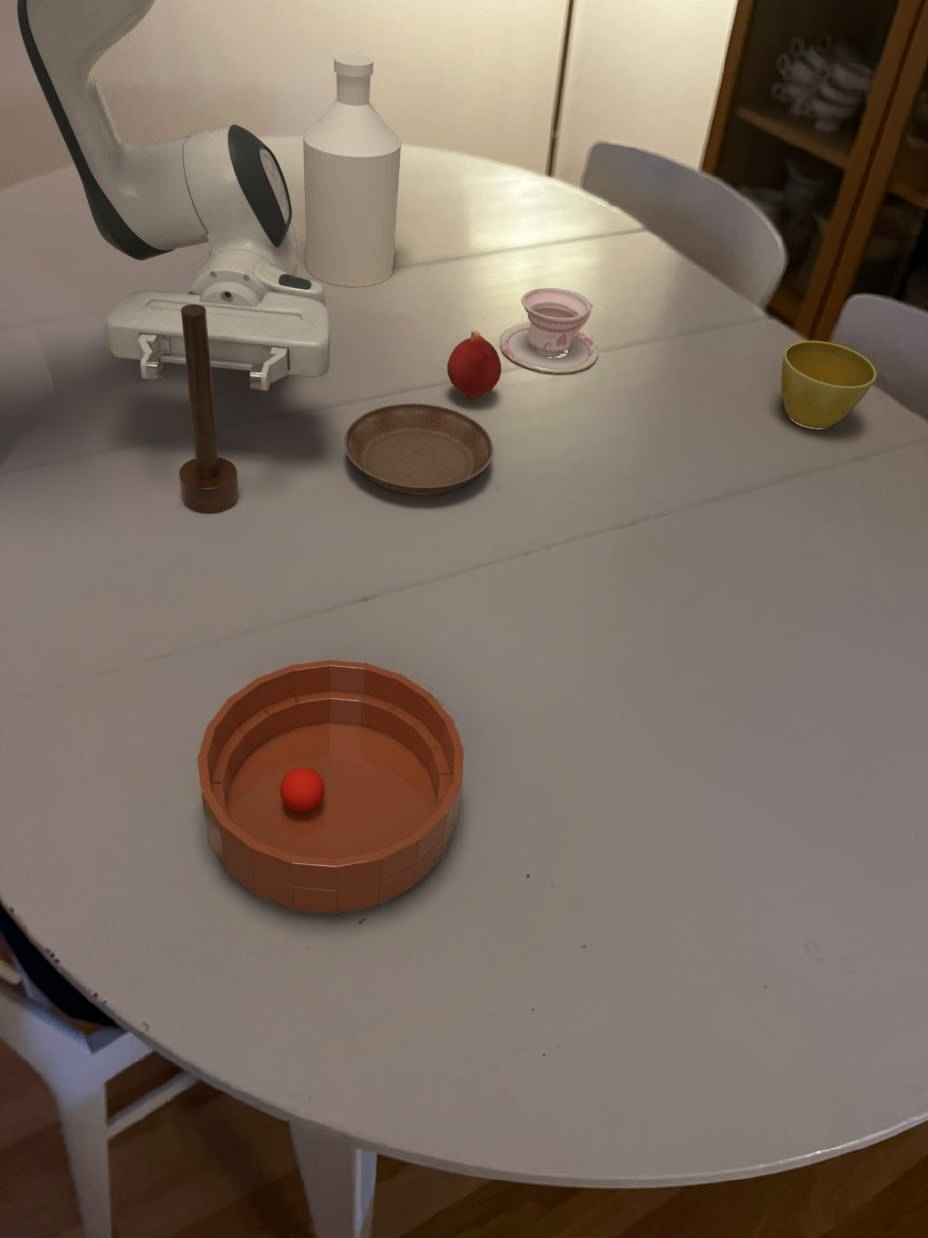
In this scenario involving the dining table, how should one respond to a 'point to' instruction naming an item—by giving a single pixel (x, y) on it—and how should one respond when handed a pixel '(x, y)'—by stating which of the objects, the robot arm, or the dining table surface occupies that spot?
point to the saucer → (418, 448)
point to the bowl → (331, 785)
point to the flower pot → (823, 382)
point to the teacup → (551, 332)
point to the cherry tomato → (302, 789)
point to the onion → (474, 366)
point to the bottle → (351, 184)
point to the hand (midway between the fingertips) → (203, 377)
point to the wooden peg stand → (203, 425)
